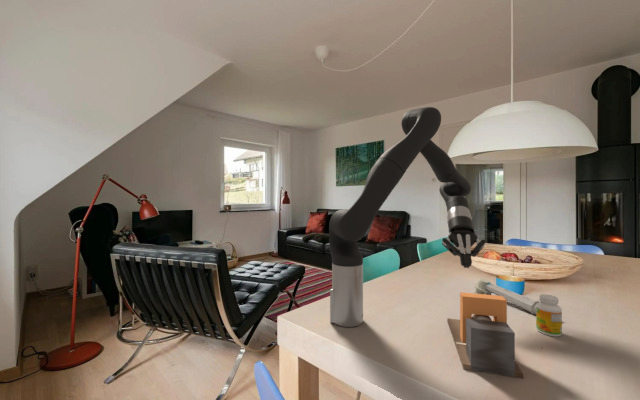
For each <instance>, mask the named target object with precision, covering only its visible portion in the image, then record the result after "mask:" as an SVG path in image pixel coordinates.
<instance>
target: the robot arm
mask: <svg viewBox="0 0 640 400" xmlns="http://www.w3.org/2000/svg"><path fill="white" fill-rule="evenodd" d="M441 123H442V115H441V112H440V110H439V109H437V108H436V107H432V106H425V107H420V108H413V109H411V110H407V111H406V112H405V113H404V114H403V116H402V117H401V124H400V125H401V129H402V131H403V132H404V133H403V134H405V136H404V137H403V138H402V139H401V140H399V141H398V142H397V143H395V144H393V145H392V146H391V147H390V148H388V149H387V150H386V151H385V152H383V153H382V154H381V155H380V156H379V157H378V158H377V160H376V162H375V163H374V164H373V166H372V167H371V169H369V171H368V174H367V176H366V180H365V185H364V187H363V190H362V192H361V194H360V196H358V198H357V199H356V200H355V202H354V203H353V204H352V206H351V207H350V208H348V209H339V210H337V211H335V212H334V213H332V215H331V217H330V220H329V224H328V225H329V226H328V231H329V232H328V236H329V237H328V239H329V240H328V242H329V252H330V256H331V289H329V290H330V291H329V297H330V298H329V308H330V309H329V313H330V314H329V320H330V321H329V322H330V323H333V324H335V325H337V326H340V327H345V328H353V327H358V326H360V325H362V324H363V323H364V256H363V253H362V252H361V250H360V248H359V246H358V241H360V240H361V239H362V238H364V236H365V235H366V234H367V232H368V231H369V228H370V227H371V225H372V224H373V221H374V220H375V217H376V216H377V214H378V213H379V210H380V209H381V208H382V206H383V204H384V203H385V202H386V200H387V199H388V197H389V196H390V195H391V193H392V191H393V190H394V189H395V188H396V186H397V185H398V184H399V182H400V181H401V179H402V178H403V177H404V175H405V173H407V170H408V169H409V167H410V166H411V164H412V163H413V162H414V160H415V159H416V158H417V156H418V155H419V154H420V153H421V155H422V156H423V158H424V159H425V161H426V162H427V163H428V164H429V166H430V168H431V170H432V171H433V173H434V175H435V177H436V179H437V181H439V182H440V183H442V184H441V185H440V186H439V194H440V196H441V197H442V199H443V201H444V202H445V205H446V212H447V214H446V215H447V216H446V217H447V218H446V219H447V221H446V222H447V224H448V225H447V226H448V236H447V237H443V238H442V242H441V245H442V246H443V247H444V248H446V250H447V251H448V252H450V253H451V254H452V255H453V256H455V257H457V256H458V257H459V260H460V261H459V262H460V265H461V267H463V268H464V269H470V267H472V263H473V261H472V258H474V257H476V256H477V255H478V254H479V253H480V252H482V250H483V249H484V248H485V245H486V242H487V241H486V240H485V239H479V238H478V236H477V235H476V233H475V228H474V222H473V219H472V215H471V211H470V207H469V206H470V205H469V202H468V199H467V198H466V197H467V196H468V195H470V193H471V191H472V187H471V186H472V185H471V184H470V182H469V181H468V180H467V178H465V177H464V176H463V175H462V174H461V173H460V172H459V171H458V170H457V168H456V166H455V165H454V163H453V160H452V158H451V157H450V156H449V155H448V154H447V152H445V150H443V149H442V148H441V147H439V146H438V145H437V144H436V143H435V142H433V140H432V138H433V137H434V136H435V135H436V134H437V132H438V131H439V130H440V129H439V128H440V127H441ZM474 244H475V246H474ZM473 246H474V247H473ZM472 247H473V249H471V248H472Z"/></svg>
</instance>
